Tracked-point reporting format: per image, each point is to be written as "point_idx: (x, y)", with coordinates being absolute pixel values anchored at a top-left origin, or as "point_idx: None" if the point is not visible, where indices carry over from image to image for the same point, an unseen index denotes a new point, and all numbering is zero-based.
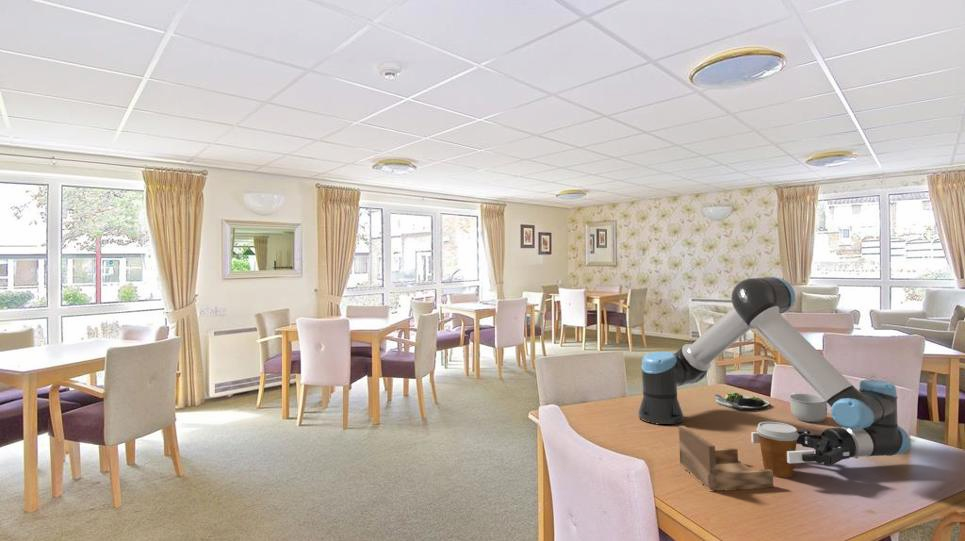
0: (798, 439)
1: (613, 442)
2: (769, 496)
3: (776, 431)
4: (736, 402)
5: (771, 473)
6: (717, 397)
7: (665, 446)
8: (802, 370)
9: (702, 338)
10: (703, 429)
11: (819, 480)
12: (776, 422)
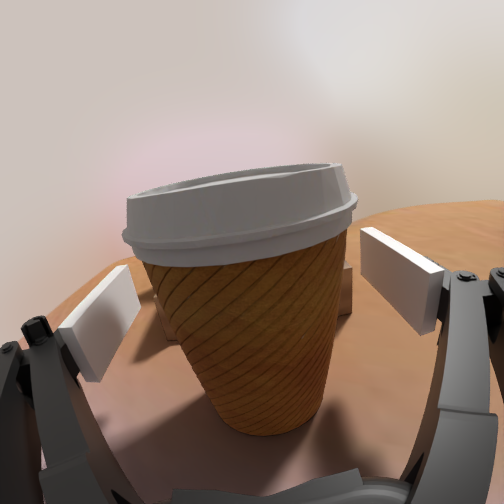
0: (427, 421)
1: (390, 216)
2: (137, 320)
3: (172, 184)
4: None
5: (157, 302)
6: None
7: (407, 242)
8: None
9: None
10: None
11: (160, 496)
12: (330, 166)
